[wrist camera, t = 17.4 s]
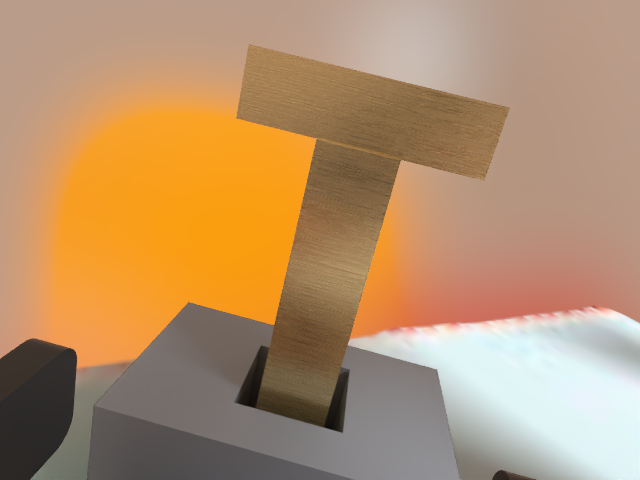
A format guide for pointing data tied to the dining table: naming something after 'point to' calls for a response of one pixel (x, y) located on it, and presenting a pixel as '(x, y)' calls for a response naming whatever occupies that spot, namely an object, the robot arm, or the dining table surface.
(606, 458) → the dining table surface
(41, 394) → the robot arm
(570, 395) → the dining table surface
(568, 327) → the dining table surface
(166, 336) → the block
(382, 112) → the t key
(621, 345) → the dining table surface
